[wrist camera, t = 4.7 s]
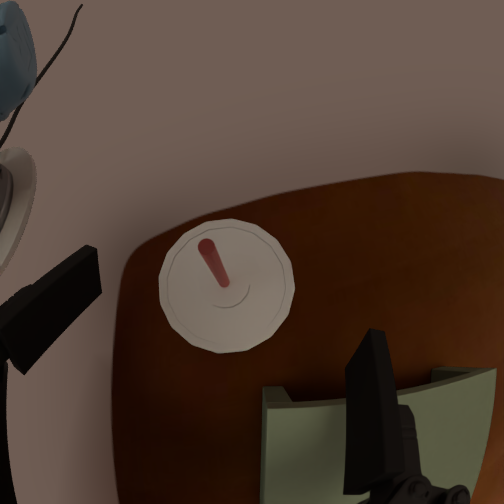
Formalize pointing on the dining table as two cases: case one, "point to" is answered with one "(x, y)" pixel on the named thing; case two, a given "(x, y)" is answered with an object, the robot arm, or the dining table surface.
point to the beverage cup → (226, 286)
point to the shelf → (334, 437)
